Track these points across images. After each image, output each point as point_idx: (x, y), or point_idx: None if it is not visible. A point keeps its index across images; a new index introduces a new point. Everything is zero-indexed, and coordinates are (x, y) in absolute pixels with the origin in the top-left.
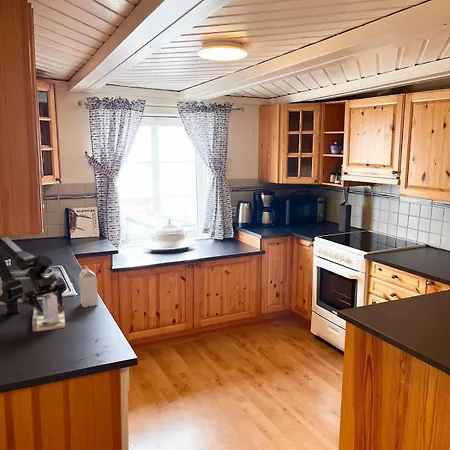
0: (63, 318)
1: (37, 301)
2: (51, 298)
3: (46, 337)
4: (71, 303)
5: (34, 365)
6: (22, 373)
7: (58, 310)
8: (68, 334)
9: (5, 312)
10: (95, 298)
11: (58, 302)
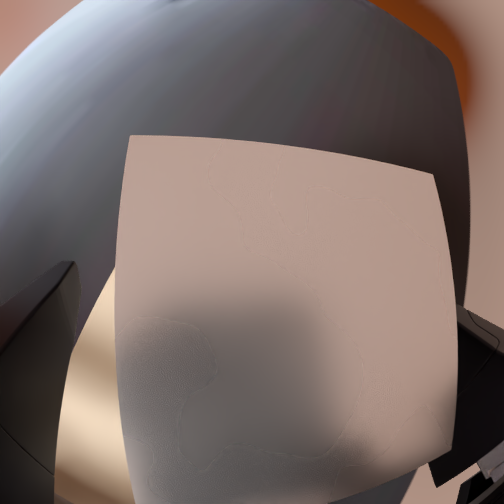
0: (89, 338)
1: (488, 340)
2: (318, 168)
3: None
4: None
5: (401, 47)
6: (425, 51)
7: (61, 501)
8: (215, 98)
9: None
10: None
11: (62, 375)
